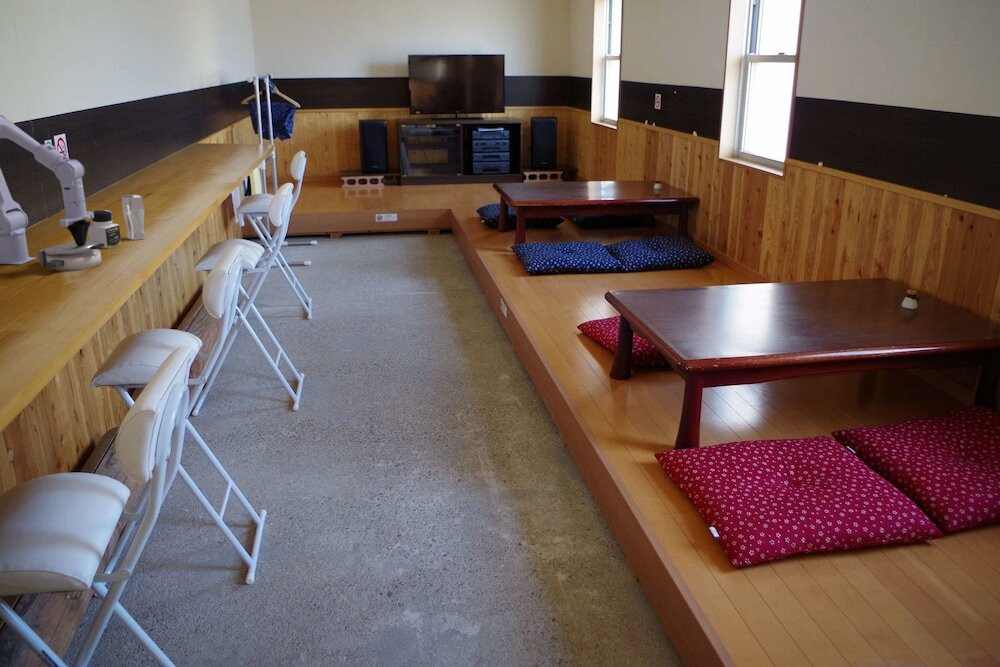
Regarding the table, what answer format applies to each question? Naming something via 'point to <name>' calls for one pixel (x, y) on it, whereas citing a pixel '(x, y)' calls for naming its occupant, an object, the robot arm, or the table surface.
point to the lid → (72, 248)
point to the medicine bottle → (104, 229)
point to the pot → (71, 260)
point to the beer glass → (134, 216)
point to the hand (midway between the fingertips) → (81, 245)
